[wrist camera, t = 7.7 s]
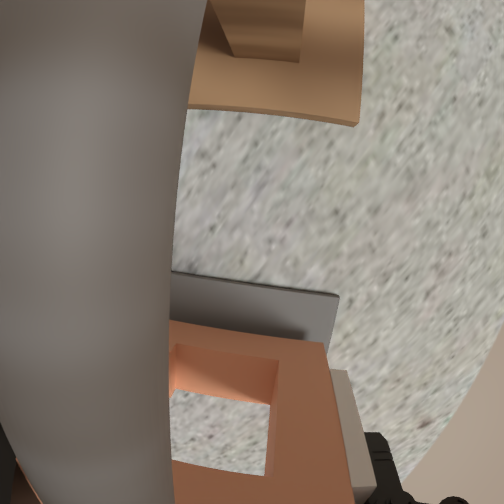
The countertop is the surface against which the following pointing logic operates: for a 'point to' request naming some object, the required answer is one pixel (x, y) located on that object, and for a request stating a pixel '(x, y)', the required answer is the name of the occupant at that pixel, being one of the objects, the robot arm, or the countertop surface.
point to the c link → (280, 420)
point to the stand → (125, 207)
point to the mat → (253, 308)
